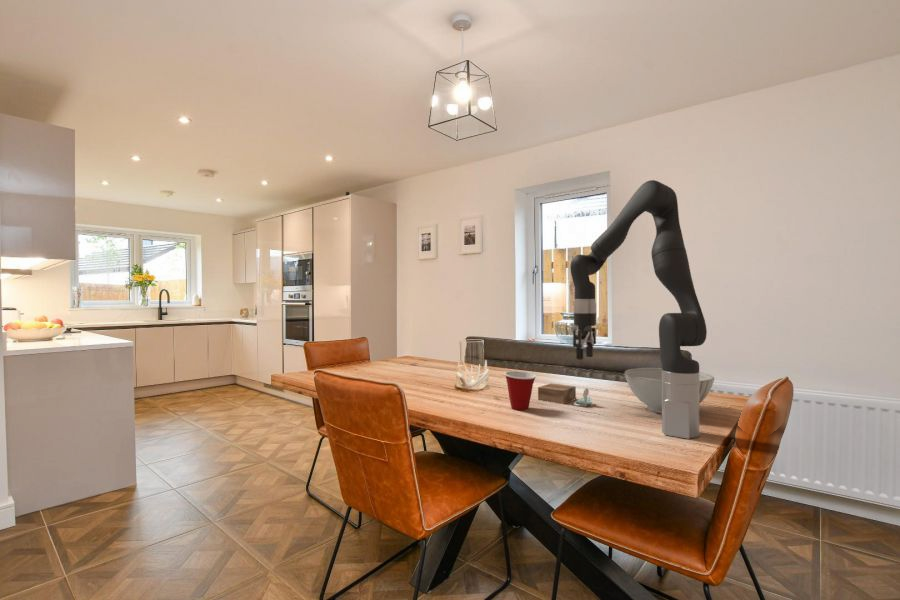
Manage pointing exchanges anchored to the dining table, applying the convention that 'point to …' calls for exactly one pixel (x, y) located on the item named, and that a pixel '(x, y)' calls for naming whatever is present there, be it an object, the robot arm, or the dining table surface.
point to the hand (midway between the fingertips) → (584, 358)
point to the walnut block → (557, 393)
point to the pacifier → (584, 399)
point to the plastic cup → (519, 388)
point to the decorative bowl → (659, 386)
